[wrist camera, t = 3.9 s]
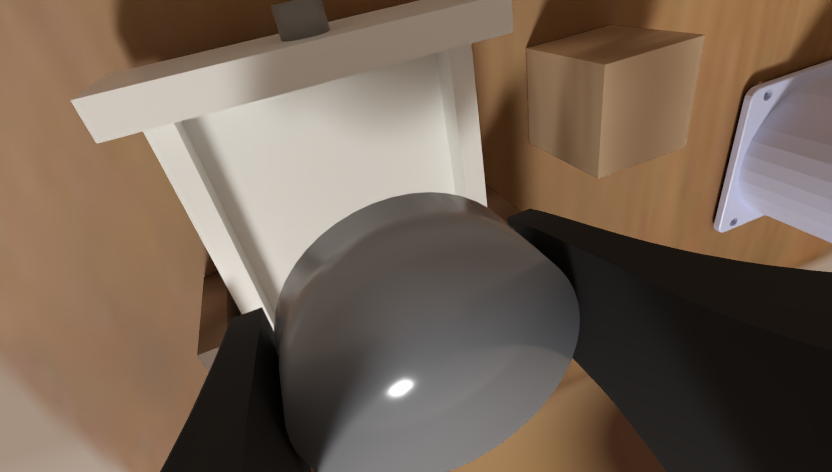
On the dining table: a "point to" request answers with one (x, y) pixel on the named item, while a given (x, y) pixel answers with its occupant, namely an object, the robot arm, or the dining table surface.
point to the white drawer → (307, 126)
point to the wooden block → (612, 96)
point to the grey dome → (419, 336)
